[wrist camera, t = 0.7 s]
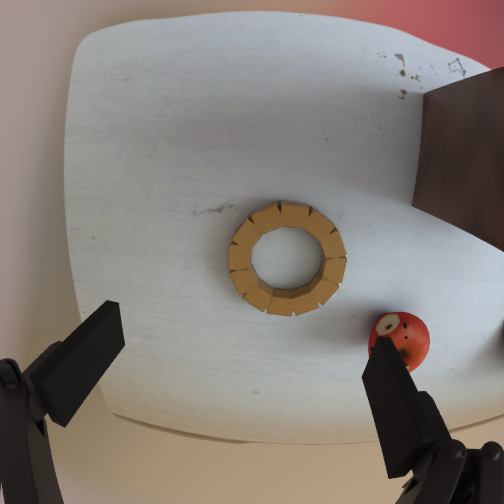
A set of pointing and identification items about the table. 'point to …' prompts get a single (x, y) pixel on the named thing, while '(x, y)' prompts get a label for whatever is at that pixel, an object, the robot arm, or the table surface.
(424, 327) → the apple
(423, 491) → the robot arm
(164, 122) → the table surface
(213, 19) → the table surface
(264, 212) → the ring
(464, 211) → the stand
